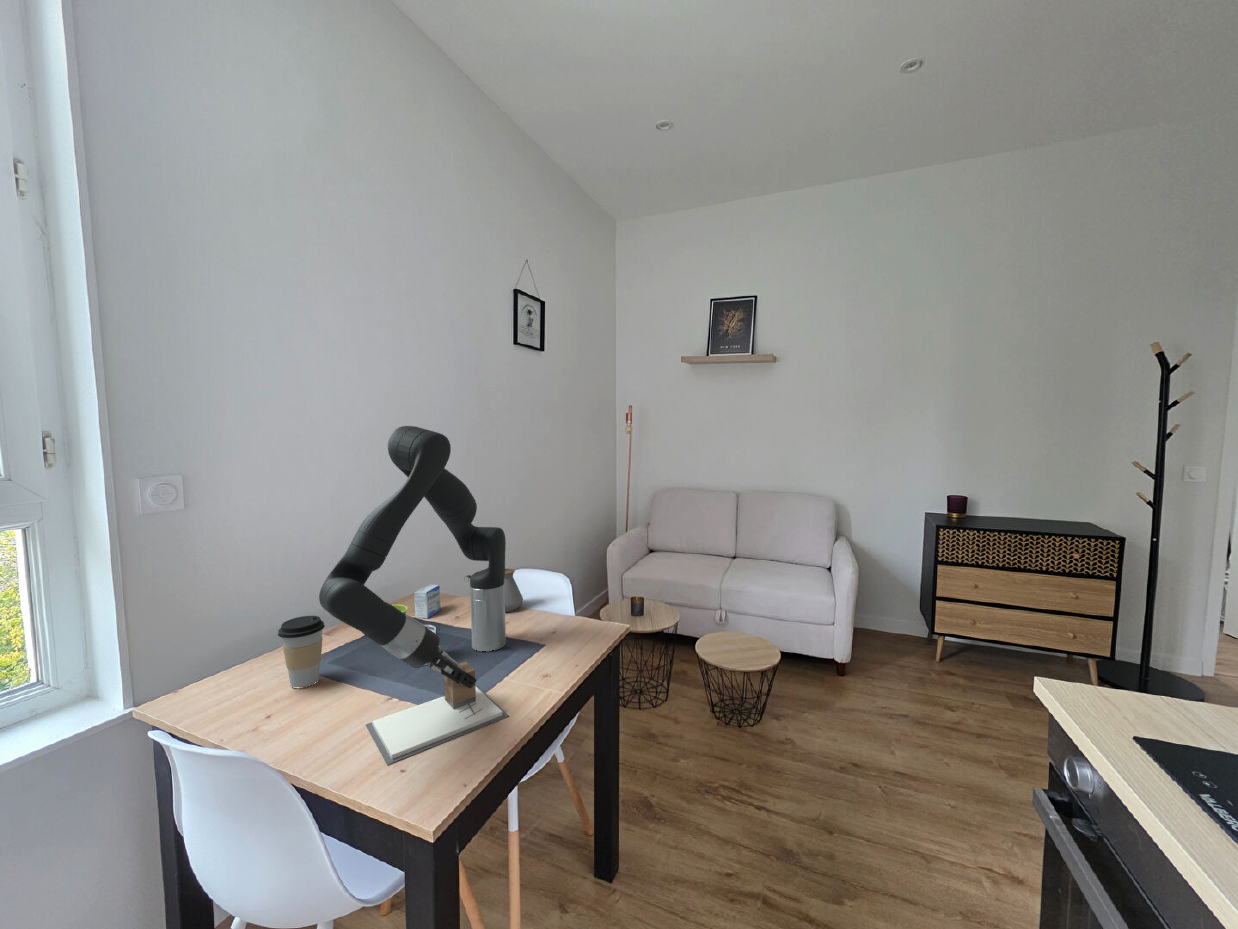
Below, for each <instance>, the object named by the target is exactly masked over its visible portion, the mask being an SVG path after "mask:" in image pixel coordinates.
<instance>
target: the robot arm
mask: <svg viewBox="0 0 1238 929" xmlns="http://www.w3.org/2000/svg"><path fill="white" fill-rule="evenodd" d="M451 449H452V448H451V443H450V440H449V438H448V437H447V436H446V435H444V434H443V433H440V432H436V431H434V430H430V429H426V428H424V427H419V426H413V425H403V426H399V427H397V428H395V429H394V430H393V431H392V432H391V433H390V436H389V437H388V441H387V451H388V452H387V453H388V456H389V457H390V460H391V462H392V463H393V464H394V466H396V468H397V469H398V470H400V471H401V472H402V473H403V474H404V475H405V476H406V477H407V479H406V481H405V482H404V483H403V485H402V486H400V488H399V489H398V490H397V491H395V492H394V494H392V495H391V496H389V497H388V498H387V499H386V500H384V502H383V501H382V502H381V504H379V505H378V506H377V507H375V508H374V509H373V510H372V511H371V512H370V513H368V514H367V516H366V517H365V518H364V520H362V523H361V524H360V525H359V527H358V529H357V531H356V532H355V534H354V536H353V538H352V540H351V542H350V544H349V545H348V547H347V550H346V552H345V553H344V555H343V556H342V557H341V558H340V559H339V561H337V563H336V565H335V566H334V567H333V568H332V570H331V571H330V572H329V574H328V575H327V576H326V579H325V580H324V581H323V584H322V586H321V588H320V591H319V595H318V602H319V604H320V606H321V607H322V608H323V610H325V611H326V612H327V613H328V614H330V615H331V616H332V617H334V618H336V619H337V620H339V621H340V622H343V623H344V624H345V625H348V626H350V627H351V628H354V629H355V630H358V631H359V632H361V634H363V635H364V636H365V637H367V638H368V639H369V640H371V641H372V642H375V643H376V644H378V645H379V646H380V647H382V648H384V650H386V651H387V652H388V653H389V654H391V655H392V656H395V658H398V659H399V660H400V661H402V662H403V663H405V664H407V665H409V666H410V667H412V668H414V669H419V668H422V667H423V666H425V665H428V666H429V668H430V669H431V670H433V671H434V672H437V673H440V674H441V675H442V676H443V677H444V676H445V677H448V678H450V679H452V680H453V681H455V682H456V683H457V684H460V683H462V684H463V685H465V686H466V687H468V688H472V686H473V685H474V684H475V685H476V683H477V678H476V677H475V678H474V677H473V676H471V675H470V674H468V673H467V672H466V671H465V670H464V669H462V668H460V667H459V666H458V664H459V663H458V662H457V661H456V660H455V659H454V658H452V657H451V655H450V654H449V653H447V652H446V651H445V650H444V649H442V648H441V647H440V636H439V635H438V634H437V633H436V632H434V631H433V630H431V629H430V628H428V627H426V626H425V625H424V624H423V623H422V622H419V621H418V620H417V619H415V618H413V617H412V616H410V615H407V613H406V614H404V613H403V612H401V611H400V610H398V609H397V608H395V607H394V606H392V605H393V604H390V603H388V602H386V601H385V600H383V599H382V598H381V597H379V595H377V594H376V593H375V592H373V591H372V590H371V589H370V588H368V586H366V585H365V584H366V582H367V580H368V579H369V577H370V576H371V574H372V573H373V572H375V571H378V570H379V569H380V568H381V567H382V566H383V564H384V563H385V561H386V559H387V557H388V555H389V554H390V552H391V550H392V547H393V545H394V543H395V541H396V540H397V538H398V535H399V534H400V533H401V530H402V529H403V527H404V525H405V524H406V522H407V521H408V520H409V518H410V516H412V514H413V512H414V511H415V510H416V508H417V507H418V506H419V504H420V503H421V501H422V500H423V499H424V498H425V500H426V501H427V502H428V503H429V505H430V506H431V508H432V509H433V511H434V512H435V513H436V515H437V516H438V517H439V518H440V520H441V521H442V522H443V523H444V524H445V526H446V527H447V528H448V530H449V531H450V533H451V534H452V536H453V537H454V539H455V541H456V543H457V544H458V547H459V548H460V550H461V552H462V554H463V555H464V556H465V558H467V559H468V560H471V561H479V562H482V561H483V562H488V566H487V568H485V569H483V570H480V571H479V570H478V571H476V572H474V573H473V574H470V576H471V577H470V578H469V589H470V590H469V591H470V621H471V622H470V623H471V624H470V625H471V649H473V650H475V651H476V650H477V652H482V651H486V652H493V651H492V650H494V651H497V650H500V649H502V648H503V647H504V646H506V644H507V637H506V634H507V632H506V612H505V587H504V576H505V569H506V547H507V546H506V544H507V543H506V541H507V540H506V534H505V532H504V530H503V529H502V528H501V527H496V526H495V527H494V526H475V525H474V524H473V521H474V519H475V516H476V514H477V511H478V510H477V508H478V507H477V502H476V499H475V497H474V496H473V494H472V492H471V491H470V489H469V488H468V486H467V485H466V484H465V483H464V482H463V481H462V480H461V479H459V477H458V476H456V475H455V474H453V473H451V471H449V470H448V469H446V468H445V467H446V466H447V464H448V462H449V460H450V457H451Z"/></svg>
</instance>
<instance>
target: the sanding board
mask: <svg viewBox="0 0 1238 929" xmlns="http://www.w3.org/2000/svg"><path fill="white" fill-rule="evenodd" d="M475 689H476V701H474V702H472V703H469V704H466V705H463V706H461V707H458V708H455V709H453V708H452V707H451V706H450V705H449V704H448V703H447V701H446V700H445V695H444V696H440V697H437V698H435V699H433V700H432V699H431V700H429V701H426V702H423V703H421V704H418V705H415V706H412V707H409V708H405V709H403V710H400V711H397V712H393V713H391V714H389V715H385V716H382V717H379V718H376V719H374V720H372V721H371V722H369V723H365V727H366V729H367V731H368V732H369V734H370V736H371V738H372V740H373V742H374V743H375V745H376V747H377V748H378V749H377V750H379V753H380V754H381V756H382V758H383V760H384V761H385V764H386V765H387V766H389V765H392V764H395V763H398V762H399V761H402V760H405V759H407V758H410V757H412V756H416V755H417V754H420V753H421V752H424V751H427V750H429V749H433V748H434V747H437V746H440V745H442V744H445V743H447V742H449V741H452V740H455V739H456V738H459V737H461V736H463V735H466V734H469V733H471V732H474V731H476V730H479V729H482V728H484V727H486V726H488V725H489V726H490V725H492V724H494V723H496V722H499V721H501V720H503V719H502V718H504V719H506V718H508V717H509V716H510V715H509V714H508V713H507V712H506V711H505V710H504V709H503V708H501V706H500V705H498V703H496V702H495V701H494V700H493V699H492V698H491V697H490V696H489V695H487V693H486V692H485V691H484V690H483V689H481V688H480V687H479V685H475ZM498 720H499V721H498Z"/></svg>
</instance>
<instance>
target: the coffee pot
mask: <svg viewBox="0 0 1238 929" xmlns="http://www.w3.org/2000/svg"><path fill="white" fill-rule="evenodd" d="M515 572H516V571H515V569H513V568H505V576H504V587H505V613H510V612H514V611H516V610H517V609H518V608H519V607H521V605H522V604H523V602H524V597H523V595H522V593H521V591H520V588H519V587H518V585H517V583H516V581H515V578H514V573H515ZM470 577H471V574H469V575H466V576H464V578H463V581H464V583H467V582H470ZM466 578H468V579H467V580H466Z"/></svg>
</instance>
